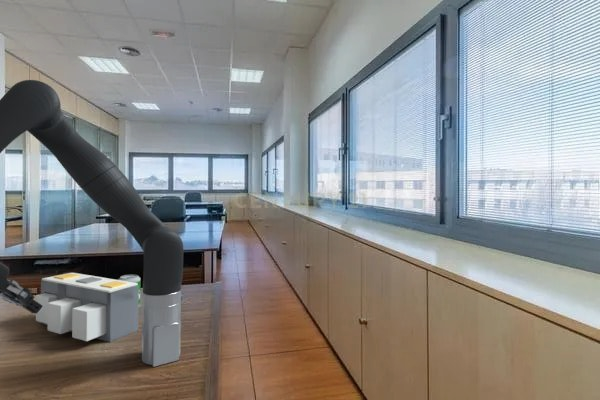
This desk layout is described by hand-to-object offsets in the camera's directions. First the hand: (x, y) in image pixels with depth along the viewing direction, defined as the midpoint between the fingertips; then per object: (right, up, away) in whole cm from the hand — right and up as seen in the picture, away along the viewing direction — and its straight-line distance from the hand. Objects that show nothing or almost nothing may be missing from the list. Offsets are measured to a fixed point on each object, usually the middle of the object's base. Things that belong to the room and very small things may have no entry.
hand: (37, 309), depth 83 cm
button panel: (-2, -13, +23) cm, 26 cm away
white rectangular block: (-13, -11, +25) cm, 31 cm away
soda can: (+2, -13, +40) cm, 42 cm away
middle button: (-4, -11, +18) cm, 22 cm away
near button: (+6, -11, +14) cm, 19 cm away
